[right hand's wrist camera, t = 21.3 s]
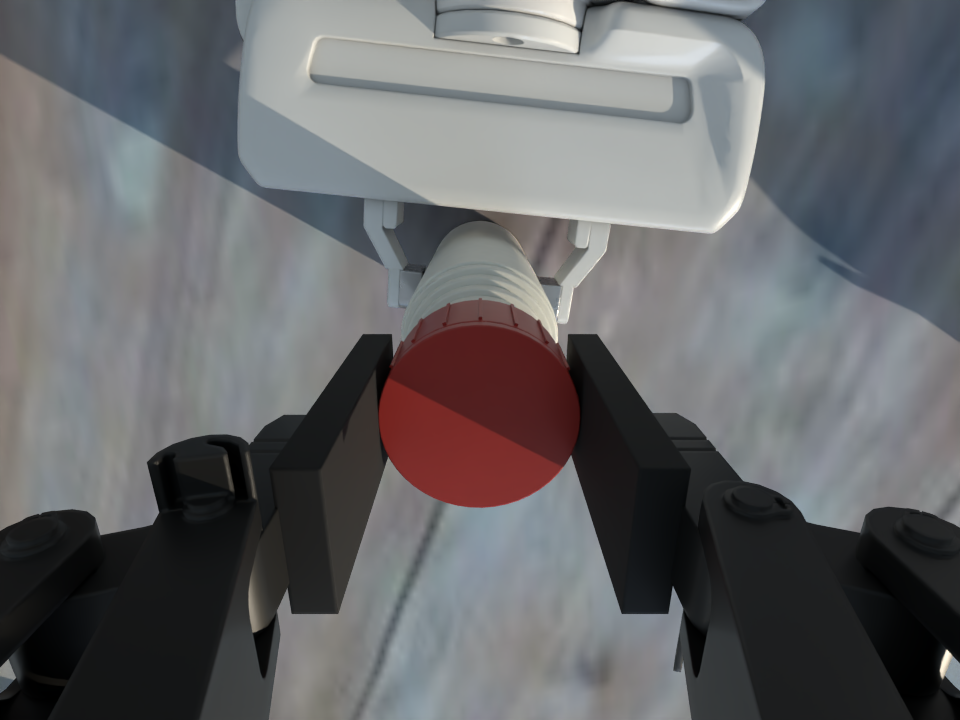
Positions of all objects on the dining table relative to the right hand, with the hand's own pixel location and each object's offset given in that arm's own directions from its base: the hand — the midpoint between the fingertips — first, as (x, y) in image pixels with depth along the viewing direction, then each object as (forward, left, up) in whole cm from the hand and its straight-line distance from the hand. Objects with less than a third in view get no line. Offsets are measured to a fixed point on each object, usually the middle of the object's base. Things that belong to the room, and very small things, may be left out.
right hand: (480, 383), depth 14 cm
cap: (0, 0, +2) cm, 2 cm away
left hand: (0, -1, -11) cm, 11 cm away
